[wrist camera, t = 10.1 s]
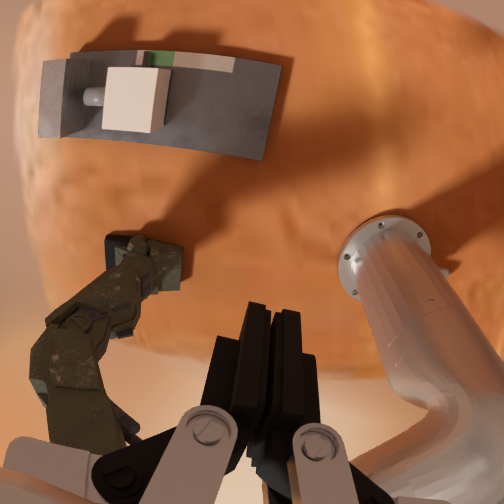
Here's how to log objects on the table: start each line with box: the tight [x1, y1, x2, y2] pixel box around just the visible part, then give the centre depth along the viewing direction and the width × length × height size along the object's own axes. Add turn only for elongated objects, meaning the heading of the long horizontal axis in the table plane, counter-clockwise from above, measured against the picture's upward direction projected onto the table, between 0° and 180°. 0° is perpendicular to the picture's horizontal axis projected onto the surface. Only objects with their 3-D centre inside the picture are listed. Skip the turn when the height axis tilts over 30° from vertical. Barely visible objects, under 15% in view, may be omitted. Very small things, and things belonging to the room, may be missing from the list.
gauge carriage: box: [83, 51, 171, 133], centre depth 26 cm, size 8×8×4 cm
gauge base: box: [38, 50, 282, 161], centre depth 27 cm, size 23×10×6 cm, turn 80°
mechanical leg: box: [29, 234, 183, 456], centre depth 27 cm, size 14×7×30 cm, turn 80°
